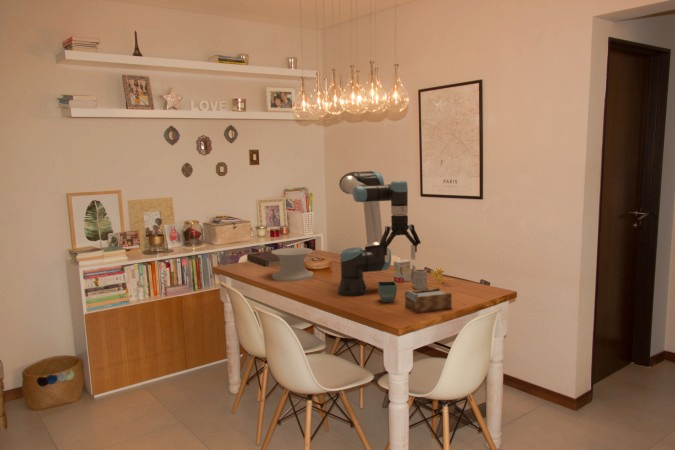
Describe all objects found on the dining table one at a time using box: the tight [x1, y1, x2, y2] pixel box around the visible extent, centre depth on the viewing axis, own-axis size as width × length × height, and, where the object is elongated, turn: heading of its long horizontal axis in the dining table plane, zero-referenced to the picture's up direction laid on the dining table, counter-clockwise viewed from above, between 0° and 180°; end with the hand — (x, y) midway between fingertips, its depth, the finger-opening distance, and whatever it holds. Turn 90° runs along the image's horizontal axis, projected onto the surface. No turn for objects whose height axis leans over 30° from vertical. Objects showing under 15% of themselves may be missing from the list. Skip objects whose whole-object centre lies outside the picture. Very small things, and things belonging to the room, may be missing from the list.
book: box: [246, 250, 281, 268], centre depth 376 cm, size 30×22×5 cm
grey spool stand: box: [271, 247, 314, 282], centre depth 326 cm, size 25×25×16 cm
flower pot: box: [376, 281, 398, 303], centre depth 266 cm, size 9×9×9 cm
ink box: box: [393, 258, 411, 283], centre depth 307 cm, size 9×5×12 cm, turn 120°
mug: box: [410, 264, 429, 291], centre depth 291 cm, size 8×12×12 cm, turn 31°
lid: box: [406, 289, 446, 302], centre depth 253 cm, size 18×10×3 cm, turn 108°
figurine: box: [430, 266, 454, 284], centre depth 300 cm, size 12×12×9 cm
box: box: [404, 287, 453, 314], centre depth 253 cm, size 18×12×7 cm, turn 108°
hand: (400, 260), depth 248 cm, fingers open, 13 cm apart
